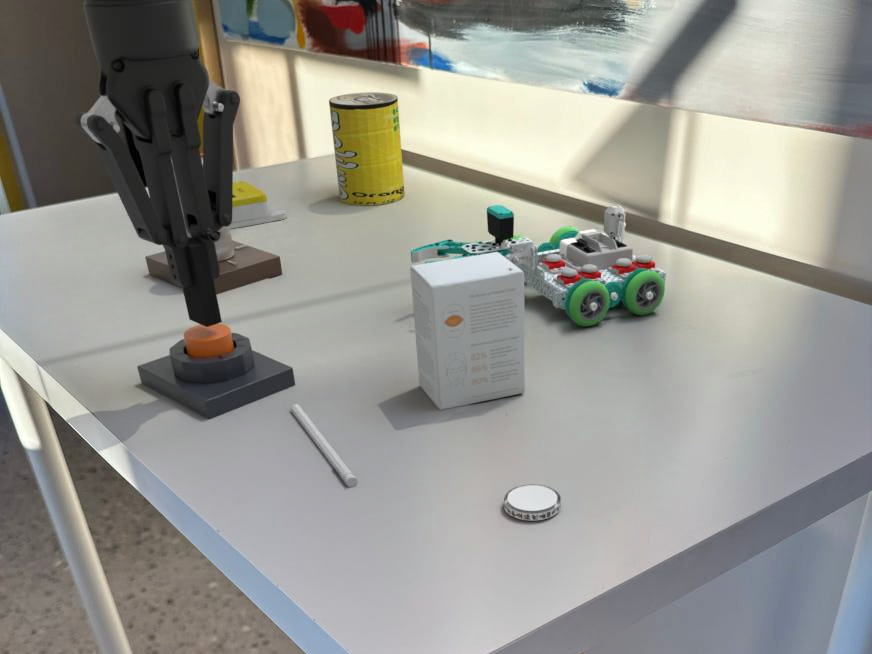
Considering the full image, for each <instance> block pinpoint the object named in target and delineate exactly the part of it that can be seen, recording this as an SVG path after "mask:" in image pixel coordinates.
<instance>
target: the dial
mask: <svg viewBox="0 0 872 654" xmlns="http://www.w3.org/2000/svg"><path fill="white" fill-rule="evenodd" d="M200 155H201V160H202V165H203V152H200ZM171 160H172V159H171ZM172 165H173V163H172ZM173 170H174V168H173ZM174 175H175V173H174ZM175 179H176V177H175ZM176 184H177V182H176ZM177 189H178V187H177ZM178 194H179V191H178ZM179 199H180V196H179ZM180 203H181V201H180ZM181 208H182V205H181ZM182 213H183V210H182ZM183 218H184V215H183ZM184 222H185V219H184ZM185 227H186V224H185ZM186 232H187V237H190V238H191V234H189V233H188V231H187V229H186ZM218 232H221V236H220V239H219V240H218V241H216V242H214V243H215V249H216V254H217V259H218V262H219V261H223V260H226V259H229V258H231V257H232V256H233V255H234V248H233V243H232V240H233V237H232V233H231V229H230V226H227V227H225V226H223V227H222V228H221V229H220V230H218Z"/></svg>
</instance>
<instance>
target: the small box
mask: <svg viewBox="0 0 872 654" xmlns="http://www.w3.org/2000/svg"><path fill="white" fill-rule="evenodd" d="M449 259H450V260H448V259H443V260H444V261H442V260H437V261H438V262H432V263H426V264H425V263H421V264H420V263H419V264H414V265H411V266H410V269H409V272H410V284H411V285H410V287H411V297H412V309H413V311H412V312H413V323H414V325H413V326H414V335H415V348H416V361H417V362H416V363H417V373H418V383H419V386H420V388H421V389H422V390H423V392H424V393H425V394H426V395H427V396H428V398H430V400H431V401H432V402H433V403H434V405H435V406H436V408H438V410H440V411H442V410H447V409H452V408H458V407H462V406H468V405H472V404H477V403H482V402H486V401H492V400H497V399H502V398H506V397H512V396H516V395H521V394H524V393H525V392H526V381H525V380H526V373H525V372H526V371H525V367H526V365H525V364H526V363H525V359H526V357H525V355H526V354H525V282H524V272H523V271H522V270H521V269H519V268H518V267H517V266H516V265H514V264H513V263H512V262H510V261H509V260H508V259H506V258H505V257H504V256H502V255H501V254H500V253H498V252H493V253H488V254H481V255H478V254H477V255H475V256H469V257H463V258H457V259H452V258H449Z"/></svg>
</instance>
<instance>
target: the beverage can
mask: <svg viewBox="0 0 872 654" xmlns="http://www.w3.org/2000/svg"><path fill="white" fill-rule="evenodd" d="M328 105H329V115H330V122H331V124H330V125H331V132H332V138H333V139H332V142H333V150H334V158H335V167H336V169H335V170H336V177H337V187H338V194H339V195H338V196H339V201H341V202H342V203H345V204H348V205H352V206H353V205H354V206H380V205H387V204H391V203H395V202H399V201H400V200H402V199H404V198H405V181H404V168H403V167H404V166H403V154H402V153H403V152H402V141H401V140H402V139H401V127H400V126H401V125H400V113H399V112H400V111H399V99H398V96H397V94H394V93H387V92H373V91H371V92H370V91H369V92H353V93H346V94H340V95H336V96H334V97H332V98H331V97H330V98H329V100H328Z"/></svg>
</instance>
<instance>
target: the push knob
mask: <svg viewBox="0 0 872 654" xmlns="http://www.w3.org/2000/svg"><path fill="white" fill-rule="evenodd" d="M231 333H232V330H231V328H230V327H229V325H226V324H222V323H218V324H215V325H212V326H209V327H206V326H203V325H201V324H198V325H195V326H191V327H189V328H188V329H186V330H185V331H184V332H183V339H184V340H185V345H186V349H187V354H188V355H189V356H191V357H198V358H208V357H215V356H220V355H223V354H226V353H229V352H231V351H233V350H234V345H233V340H232V334H231Z"/></svg>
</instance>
